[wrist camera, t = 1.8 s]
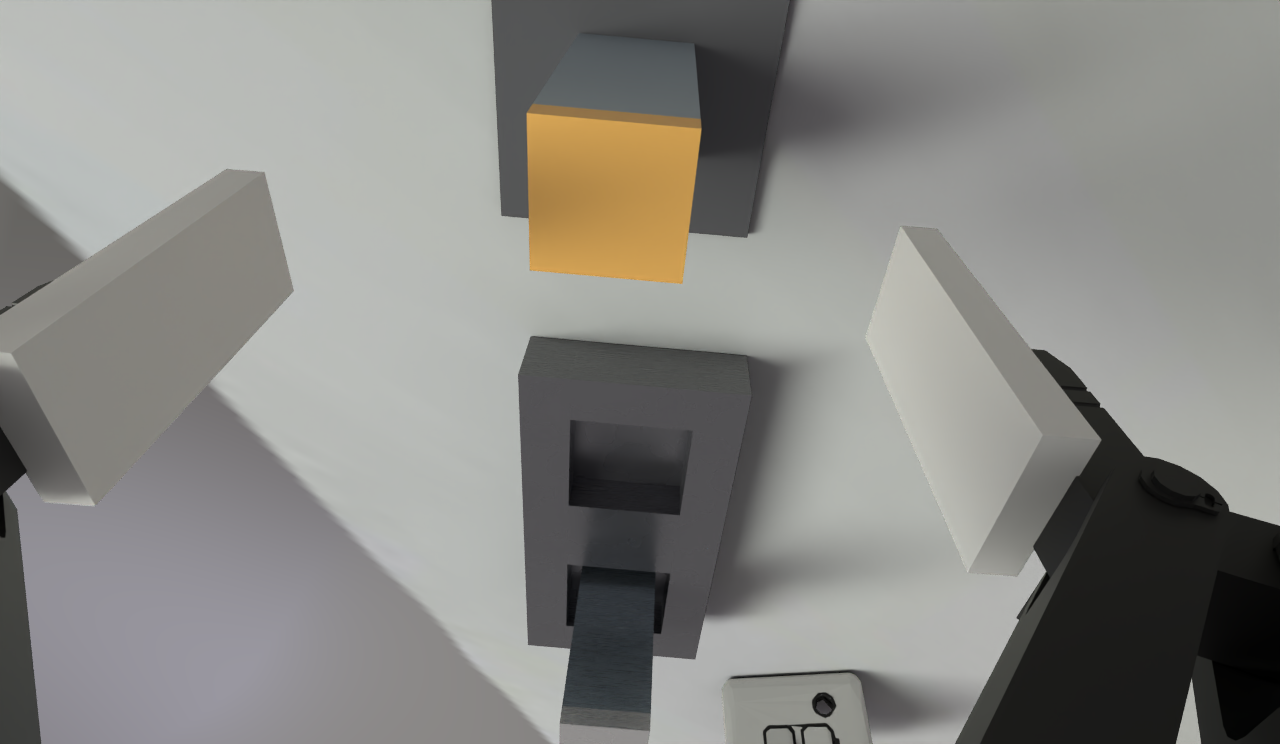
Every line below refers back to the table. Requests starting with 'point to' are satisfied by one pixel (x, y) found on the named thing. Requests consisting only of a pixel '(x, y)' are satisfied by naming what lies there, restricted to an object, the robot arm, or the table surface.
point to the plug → (614, 160)
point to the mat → (726, 73)
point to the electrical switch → (795, 710)
